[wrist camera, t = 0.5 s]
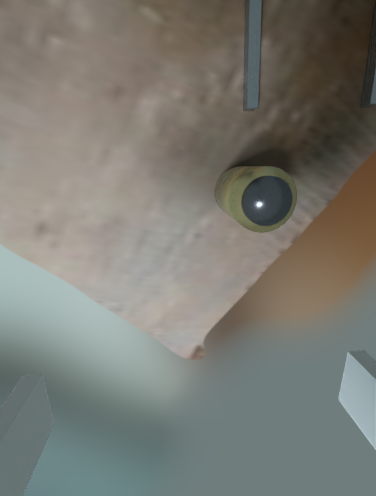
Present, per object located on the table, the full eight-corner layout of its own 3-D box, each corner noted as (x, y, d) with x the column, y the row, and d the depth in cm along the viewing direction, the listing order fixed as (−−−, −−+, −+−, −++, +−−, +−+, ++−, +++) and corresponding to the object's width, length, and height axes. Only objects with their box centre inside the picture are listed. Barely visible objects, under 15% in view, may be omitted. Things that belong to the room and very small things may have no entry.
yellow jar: (214, 167, 31) (235, 167, 21) (263, 165, 31) (304, 164, 22) (215, 216, 32) (234, 236, 23) (261, 214, 33) (298, 232, 23)
